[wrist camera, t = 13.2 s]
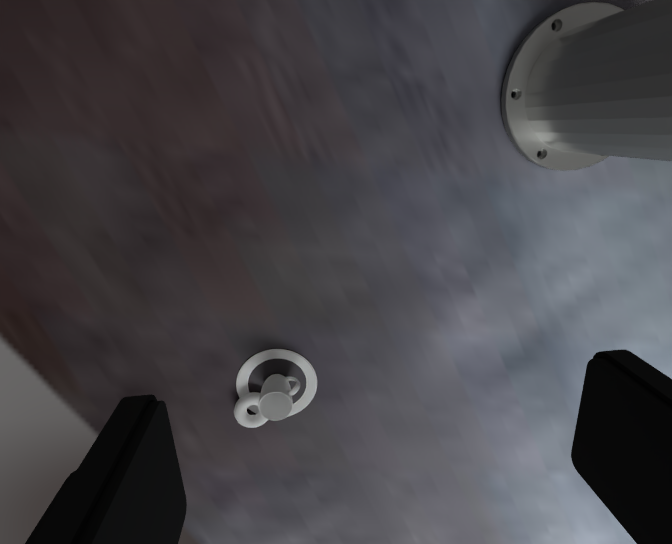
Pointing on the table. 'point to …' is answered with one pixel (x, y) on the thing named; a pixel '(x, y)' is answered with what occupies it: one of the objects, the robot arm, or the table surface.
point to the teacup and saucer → (272, 390)
